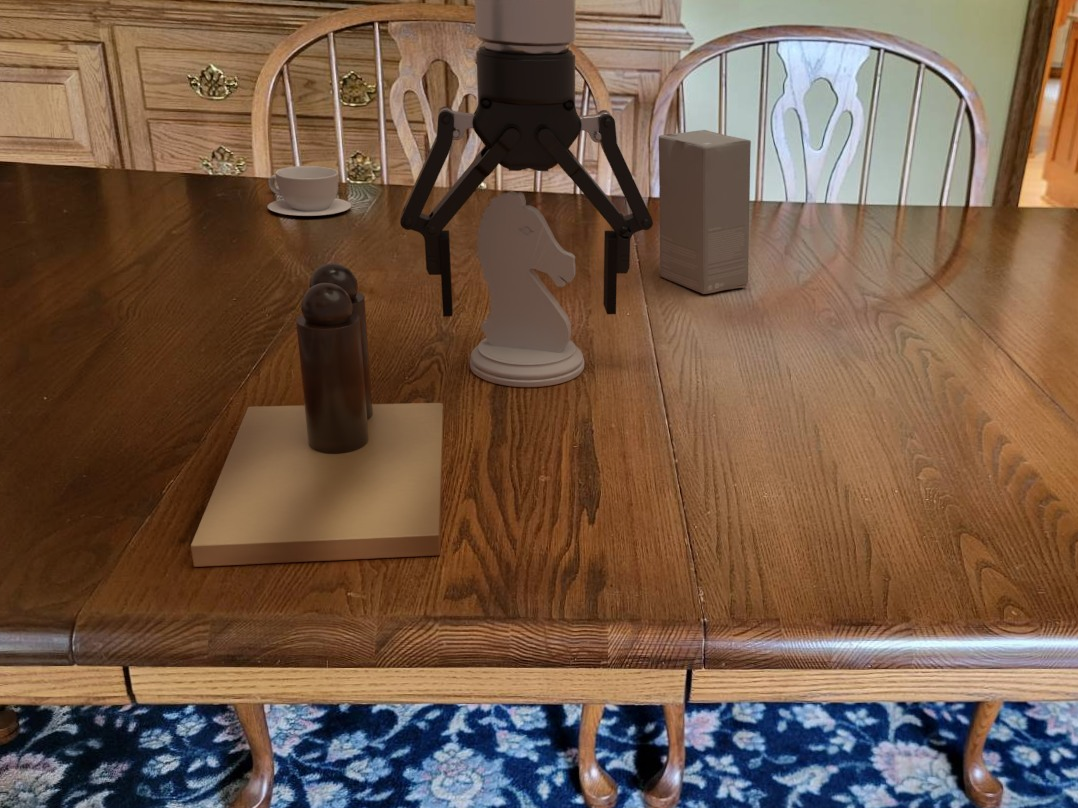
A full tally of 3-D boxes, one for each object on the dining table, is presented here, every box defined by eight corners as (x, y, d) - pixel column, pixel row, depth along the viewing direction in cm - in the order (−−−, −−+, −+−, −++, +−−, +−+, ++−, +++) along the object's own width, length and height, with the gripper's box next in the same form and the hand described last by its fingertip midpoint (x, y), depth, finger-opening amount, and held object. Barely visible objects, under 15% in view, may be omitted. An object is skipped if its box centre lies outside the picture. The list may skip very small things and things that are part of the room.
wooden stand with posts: (193, 567, 64) (160, 360, 58) (250, 424, 82) (228, 255, 76) (440, 556, 67) (431, 357, 61) (443, 420, 84) (436, 256, 79)
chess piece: (569, 393, 91) (571, 212, 84) (454, 380, 92) (447, 201, 85) (595, 352, 100) (598, 186, 93) (489, 341, 100) (485, 175, 94)
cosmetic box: (748, 288, 120) (761, 140, 113) (696, 298, 116) (706, 144, 109) (701, 268, 126) (710, 126, 119) (650, 276, 122) (656, 129, 115)
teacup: (364, 204, 142) (361, 167, 140) (331, 222, 133) (328, 183, 131) (289, 197, 143) (286, 160, 141) (252, 215, 134) (248, 176, 132)
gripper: (677, 45, 90) (667, 294, 99) (360, 34, 85) (380, 297, 94) (695, 57, 83) (682, 322, 93) (352, 45, 78) (374, 327, 88)
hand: (529, 310), depth 93 cm, fingers open, 13 cm apart
